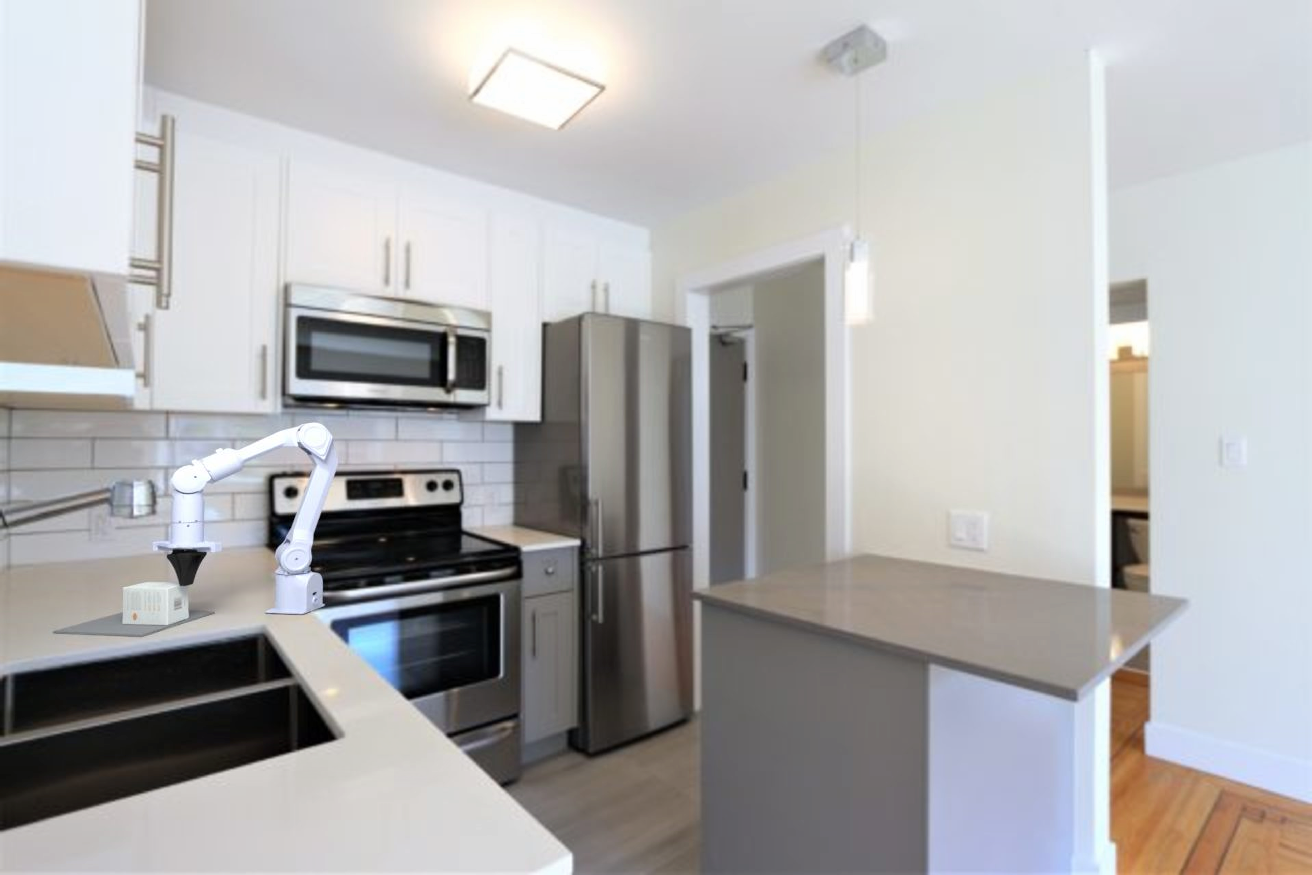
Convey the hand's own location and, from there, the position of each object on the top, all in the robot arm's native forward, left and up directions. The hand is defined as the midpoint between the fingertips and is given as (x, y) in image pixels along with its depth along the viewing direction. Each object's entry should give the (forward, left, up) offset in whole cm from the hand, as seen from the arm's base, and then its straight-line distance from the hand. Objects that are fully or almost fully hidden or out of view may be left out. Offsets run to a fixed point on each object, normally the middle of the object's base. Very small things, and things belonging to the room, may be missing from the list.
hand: (186, 585), depth 134 cm
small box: (+1, 0, -4) cm, 4 cm away
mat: (+11, 0, -8) cm, 14 cm away
